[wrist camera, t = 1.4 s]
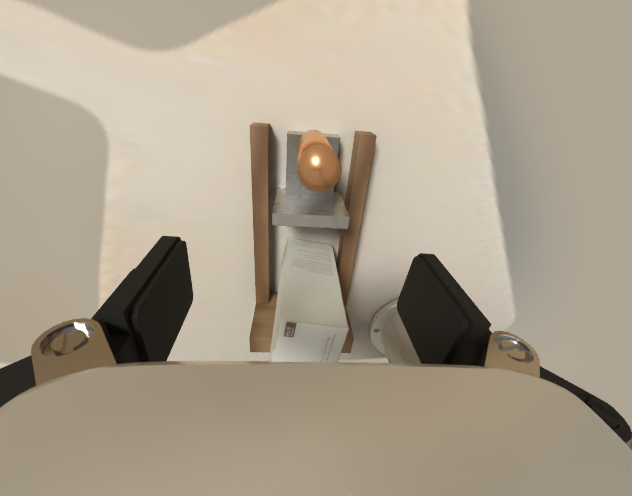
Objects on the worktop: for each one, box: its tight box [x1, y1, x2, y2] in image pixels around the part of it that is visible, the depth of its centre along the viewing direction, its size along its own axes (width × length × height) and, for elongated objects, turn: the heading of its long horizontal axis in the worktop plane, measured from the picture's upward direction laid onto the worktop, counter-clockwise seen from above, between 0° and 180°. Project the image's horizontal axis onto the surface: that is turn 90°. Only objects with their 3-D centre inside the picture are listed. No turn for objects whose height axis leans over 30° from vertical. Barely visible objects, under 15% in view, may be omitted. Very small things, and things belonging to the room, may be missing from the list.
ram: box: [272, 130, 350, 229], centre depth 25 cm, size 7×8×11 cm
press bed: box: [250, 123, 376, 353], centre depth 30 cm, size 12×24×8 cm, turn 175°
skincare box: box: [269, 238, 349, 362], centre depth 29 cm, size 8×6×15 cm
